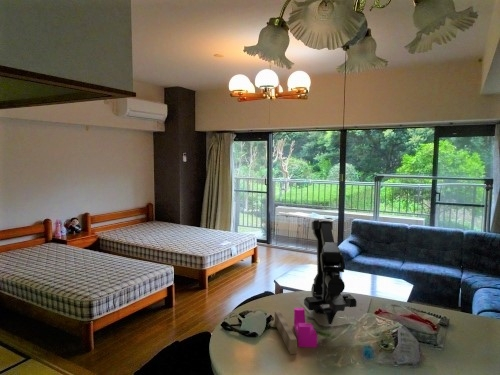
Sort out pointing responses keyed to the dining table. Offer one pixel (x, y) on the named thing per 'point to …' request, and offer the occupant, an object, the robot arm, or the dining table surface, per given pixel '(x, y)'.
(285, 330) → the batten
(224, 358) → the dining table surface
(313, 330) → the toy block
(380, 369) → the dining table surface
